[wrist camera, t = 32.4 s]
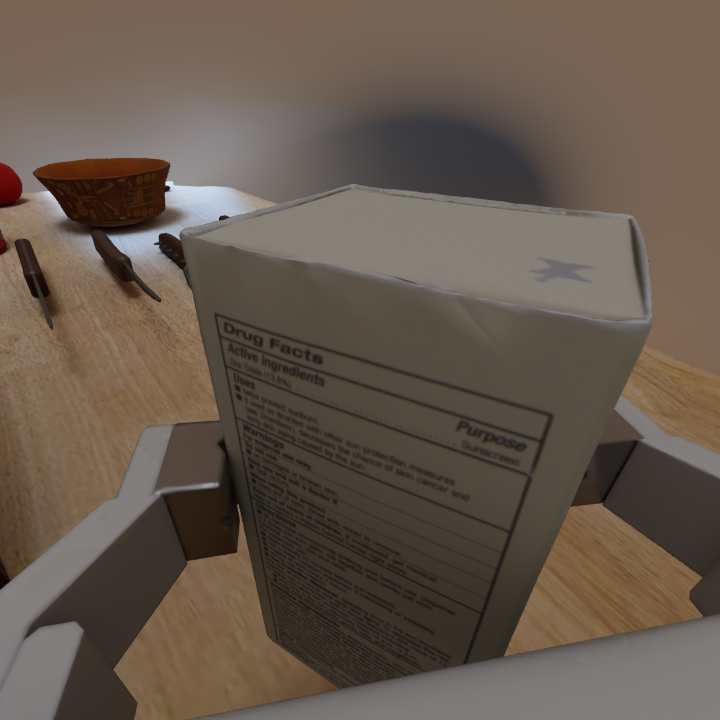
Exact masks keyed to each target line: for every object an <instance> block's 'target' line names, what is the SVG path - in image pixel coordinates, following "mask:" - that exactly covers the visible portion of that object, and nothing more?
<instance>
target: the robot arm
mask: <svg viewBox="0 0 720 720" xmlns="http://www.w3.org/2000/svg"><path fill="white" fill-rule="evenodd" d="M599 503H603V506H604V507H606V508H607V509H608V510H610V511H611V512H613V513H614V514H615V515H617V516H618V517H620V518H621V519H622V520H624V521H625V522H626V523H628V524H629V525H631V526H632V527H633V528H635V529H636V530H638V531H639V532H640V533H642V534H643V535H645V536H646V537H647V538H649V539H650V540H651V541H653V542H654V543H656V544H657V545H658V546H660V547H661V548H663V549H664V550H665V551H667V552H668V553H670V554H671V555H672V556H674V557H675V558H676V559H678V560H679V561H681V562H682V563H683V564H685V565H686V566H688V567H689V568H690V569H692V570H693V571H695V572H696V573H697V574H699V575H700V576H701V577H703V578H702V579H701V580H700V581H699V582H698V583H697V584H696V585H695V586H694V587H693V589H692V590H691V591H690V597H689V599H690V600H691V601H692V603H693V604H694V605H695V607H696V608H697V609H698V610H699V612H700V613H701V614H702V615H703V617H702V618H697V619H692V620H687V621H682V622H677V623H672V624H667V625H661V626H656V627H651V628H646V629H641V630H636V631H631V632H626V633H621V634H616V635H611V636H606V637H601V638H596V639H591V640H586V641H581V642H575V643H570V644H565V645H560V646H555V647H550V648H545V649H540V650H535V651H530V652H525V653H520V654H515V655H510V656H505V657H500V658H494V659H489V660H484V661H479V662H474V663H469V664H464V665H459V666H454V667H449V668H444V669H439V670H434V671H429V672H424V673H419V674H414V675H408V676H403V677H398V678H393V679H388V680H383V681H378V682H373V683H368V684H363V685H358V686H353V687H348V688H343V689H338V690H333V691H328V692H323V693H318V694H313V695H308V696H302V697H297V698H292V699H287V700H282V701H277V702H272V703H267V704H262V705H257V706H252V707H247V708H242V709H237V710H232V711H227V712H222V713H217V714H212V715H207V716H202V717H196V718H191V719H186V720H720V454H718V453H716V452H713V451H711V450H709V449H706V448H704V447H702V446H700V445H697V444H695V443H693V442H690V441H688V440H686V439H683V438H681V437H679V436H669V435H668V434H667V433H666V432H665V431H663V430H662V429H661V428H660V427H659V426H658V425H657V424H656V423H654V422H653V421H652V420H651V419H650V418H649V417H648V416H646V415H645V414H644V413H643V412H642V411H641V410H640V409H638V408H637V407H636V406H635V405H634V404H633V403H632V402H631V401H629V400H628V399H627V398H626V397H625V396H624V395H623V394H621V395H620V397H619V400H618V402H617V404H616V406H615V408H614V410H613V413H612V415H611V417H610V419H609V421H608V423H607V425H606V428H605V430H604V432H603V434H602V436H601V438H600V441H599V443H598V445H597V447H596V449H595V451H594V454H593V456H592V458H591V460H590V462H589V464H588V467H587V469H586V471H585V474H584V476H583V478H582V481H581V483H580V485H579V487H578V490H577V492H576V494H575V497H574V499H573V501H572V503H571V506H570V507H572V506H581V505H590V504H599ZM237 504H238V500H237V495H236V491H235V486H234V482H233V478H232V473H231V468H230V463H229V458H228V453H227V449H226V444H225V440H224V436H223V432H222V427H221V422H220V420H219V421H204V422H189V423H177V424H166V425H151V426H147V427H146V428H145V429H144V430H143V431H142V433H141V435H140V438H139V440H138V443H137V446H136V448H135V451H134V453H133V456H132V458H131V461H130V463H129V466H128V468H127V471H126V474H125V476H124V479H123V481H122V484H121V486H120V489H119V491H118V494H117V497H116V499H112V500H106V501H104V502H103V503H102V504H101V505H100V506H99V507H97V508H96V509H95V510H94V511H93V512H91V513H90V514H89V515H88V516H87V517H86V518H84V519H83V520H82V521H81V522H80V523H79V524H77V525H76V526H75V527H74V528H73V529H71V530H70V531H69V532H68V533H67V534H66V535H64V536H63V537H62V538H61V539H60V540H59V541H57V542H56V543H55V544H54V545H53V546H51V547H50V548H49V549H48V550H47V551H46V552H44V553H43V554H42V555H41V556H40V557H39V558H37V559H36V560H35V561H34V562H33V563H31V564H30V565H29V566H28V567H27V568H26V569H24V570H23V571H22V572H21V573H20V574H19V575H17V576H16V577H15V578H14V579H13V580H11V581H10V582H9V583H8V584H7V585H6V586H4V587H3V588H2V589H1V590H0V720H134V718H135V713H136V708H137V702H136V700H135V699H134V697H133V696H132V694H131V693H130V692H129V690H128V689H127V688H126V686H125V685H124V684H123V682H122V681H121V680H120V678H119V677H118V676H117V674H116V673H115V671H114V670H113V669H114V668H115V666H116V665H117V664H118V662H119V661H120V659H121V658H122V656H123V655H124V654H125V652H126V651H127V649H128V648H129V647H130V645H131V644H132V642H133V641H134V639H135V638H136V637H137V635H138V634H139V632H140V631H141V629H142V628H143V627H144V625H145V624H146V622H147V621H148V620H149V618H150V617H151V615H152V614H153V612H154V611H155V610H156V608H157V607H158V605H159V604H160V602H161V601H162V600H163V598H164V597H165V595H166V594H167V593H168V591H169V590H170V588H171V587H172V585H173V584H174V583H175V581H176V580H177V578H178V577H179V576H180V574H181V573H182V571H183V570H184V568H185V567H186V566H187V561H190V560H196V559H202V558H208V557H214V556H220V555H226V554H232V553H237V546H238V535H239V524H240V518H239V513H238V508H237Z"/></svg>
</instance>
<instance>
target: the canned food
mask: <svg viewBox="0 0 720 720" xmlns="http://www.w3.org/2000/svg"><path fill="white" fill-rule="evenodd" d="M6 249H7V247H6V241H5V239H4V237H3V235H2V233H1V230H0V254H1V253H3V252H4V251H5V250H6Z"/></svg>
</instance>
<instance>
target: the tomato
mask: <svg viewBox="0 0 720 720" xmlns="http://www.w3.org/2000/svg"><path fill="white" fill-rule="evenodd" d="M21 194H22V183H21V180H20V178H19V177H18V175H17V174H16V173H15V172H14V170H13V169H11V168H10V167H9V166H7V165H5V164H2V163H0V205H7V204H10V203H13V202H15V201H16V200H18V199H19V197H20V196H21Z"/></svg>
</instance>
